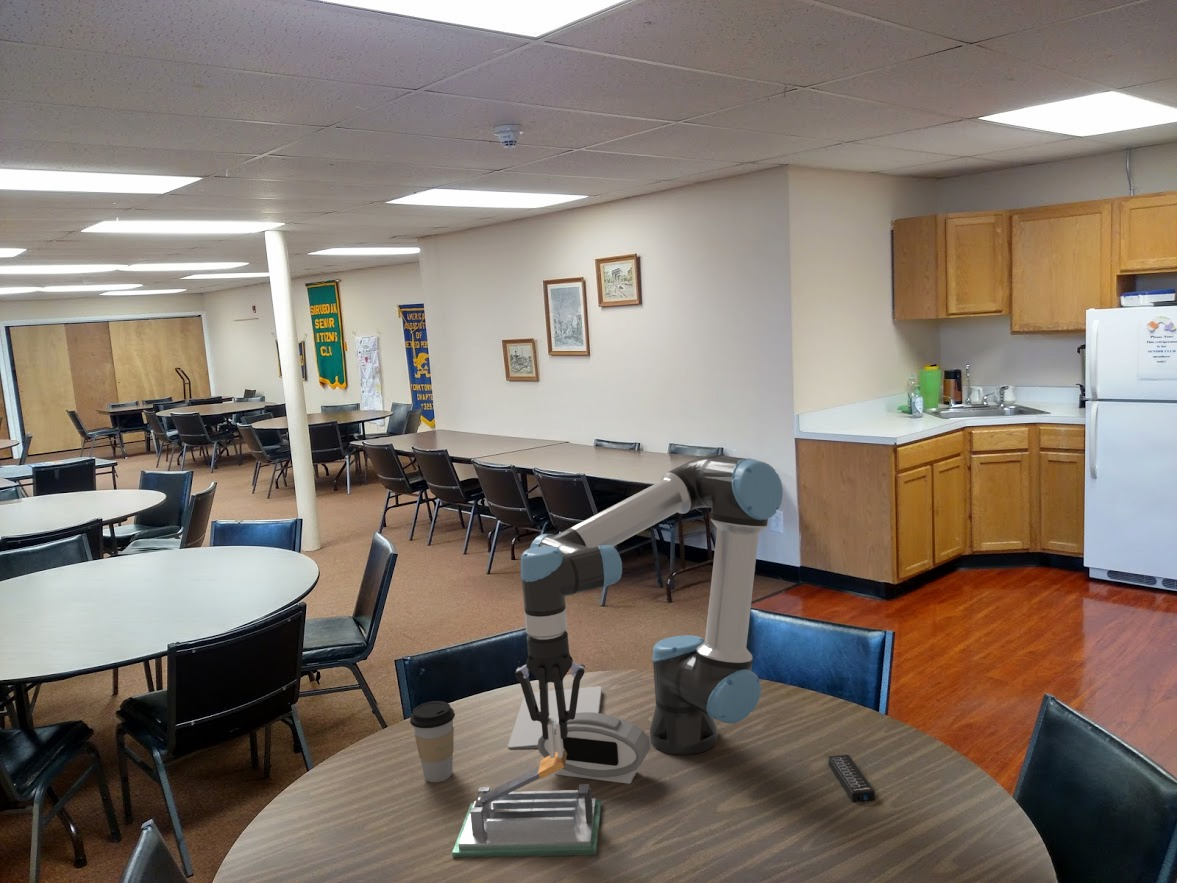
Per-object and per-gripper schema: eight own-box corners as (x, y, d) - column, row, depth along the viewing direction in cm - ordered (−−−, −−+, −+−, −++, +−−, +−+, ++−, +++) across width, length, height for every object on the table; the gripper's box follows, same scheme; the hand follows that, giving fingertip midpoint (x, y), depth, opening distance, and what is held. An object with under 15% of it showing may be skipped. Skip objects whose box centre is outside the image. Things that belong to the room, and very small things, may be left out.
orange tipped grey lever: (568, 756, 162) (564, 748, 162) (566, 769, 157) (561, 761, 157) (481, 799, 165) (476, 791, 165) (476, 814, 160) (471, 806, 160)
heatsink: (601, 804, 169) (598, 766, 168) (596, 854, 153) (592, 812, 152) (471, 807, 171) (467, 769, 170) (452, 857, 156) (448, 815, 154)
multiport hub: (849, 764, 178) (849, 754, 178) (875, 802, 164) (875, 791, 164) (828, 766, 178) (827, 755, 178) (853, 804, 164) (852, 793, 164)
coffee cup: (451, 787, 179) (444, 719, 177) (408, 785, 181) (401, 718, 179) (466, 764, 189) (460, 699, 187) (426, 763, 191) (419, 698, 189)
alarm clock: (539, 774, 182) (534, 717, 181) (550, 760, 188) (545, 704, 186) (644, 788, 174) (640, 728, 173) (652, 772, 180) (648, 714, 178)
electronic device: (595, 748, 193) (594, 739, 193) (507, 751, 194) (506, 742, 194) (602, 693, 221) (601, 685, 221) (525, 696, 223) (524, 688, 222)
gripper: (586, 623, 160) (595, 743, 163) (512, 626, 161) (523, 745, 164) (582, 638, 152) (592, 763, 155) (506, 641, 153) (517, 765, 157)
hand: (556, 754), depth 160 cm, fingers closed
